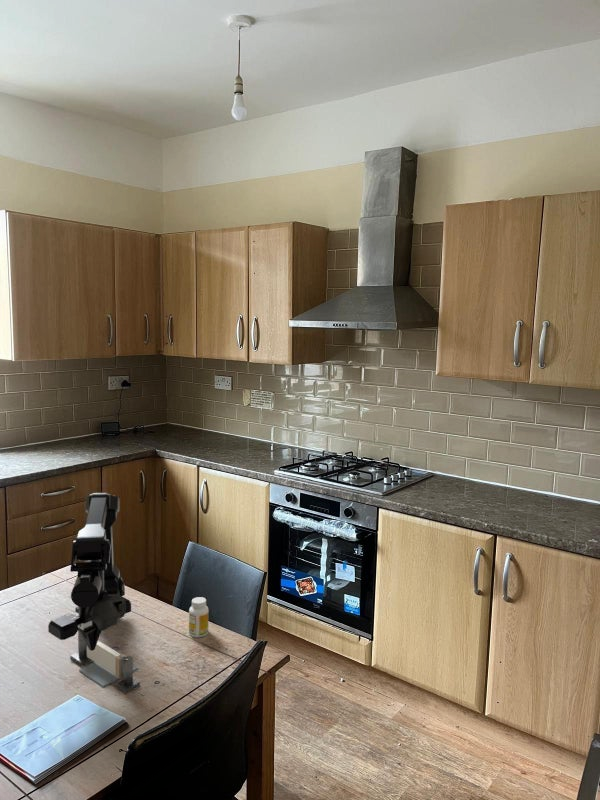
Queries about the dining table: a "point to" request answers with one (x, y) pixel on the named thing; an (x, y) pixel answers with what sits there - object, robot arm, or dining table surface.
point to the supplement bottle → (198, 617)
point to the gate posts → (127, 666)
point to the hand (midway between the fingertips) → (91, 649)
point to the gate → (107, 658)
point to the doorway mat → (100, 674)
